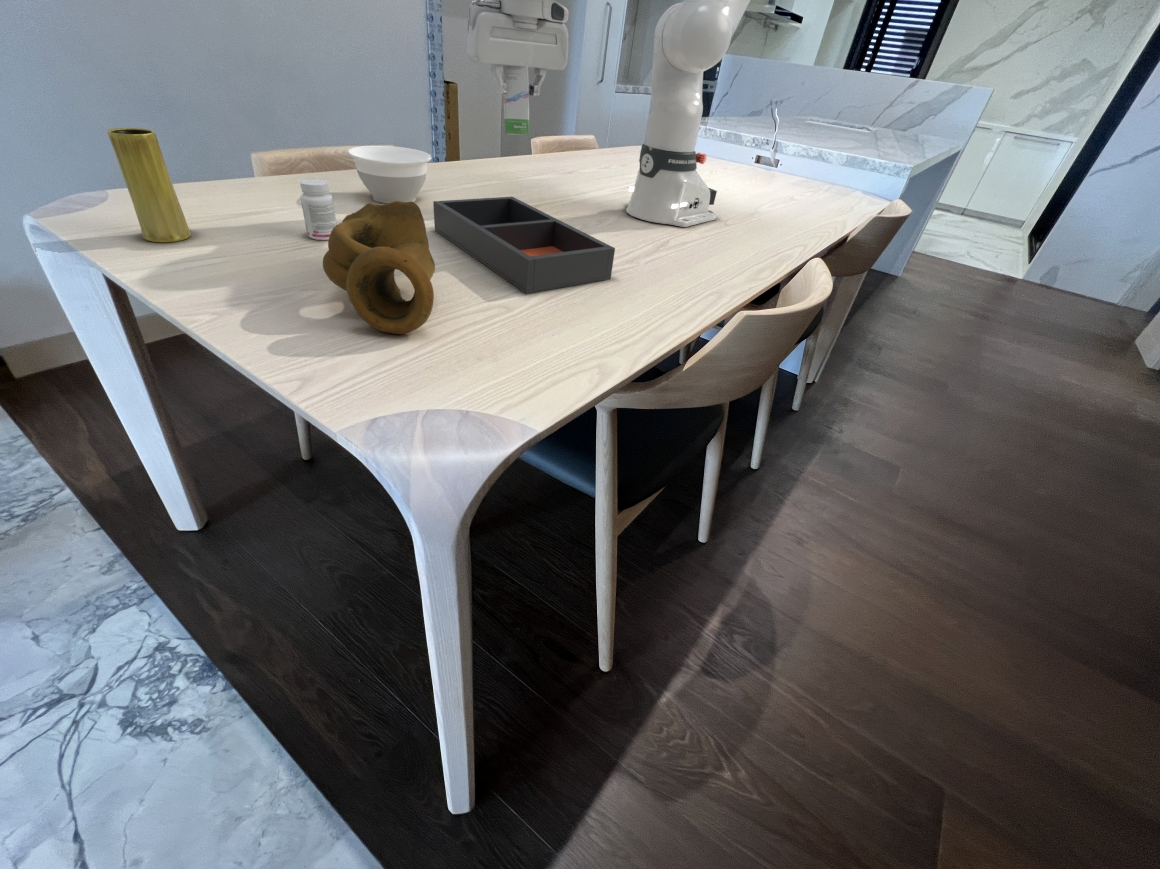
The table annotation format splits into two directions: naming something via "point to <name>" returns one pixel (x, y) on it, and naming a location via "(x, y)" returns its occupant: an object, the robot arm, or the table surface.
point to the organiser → (523, 243)
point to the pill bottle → (317, 208)
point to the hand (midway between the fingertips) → (518, 94)
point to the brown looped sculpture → (383, 264)
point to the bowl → (391, 171)
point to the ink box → (516, 100)
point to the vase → (149, 184)
